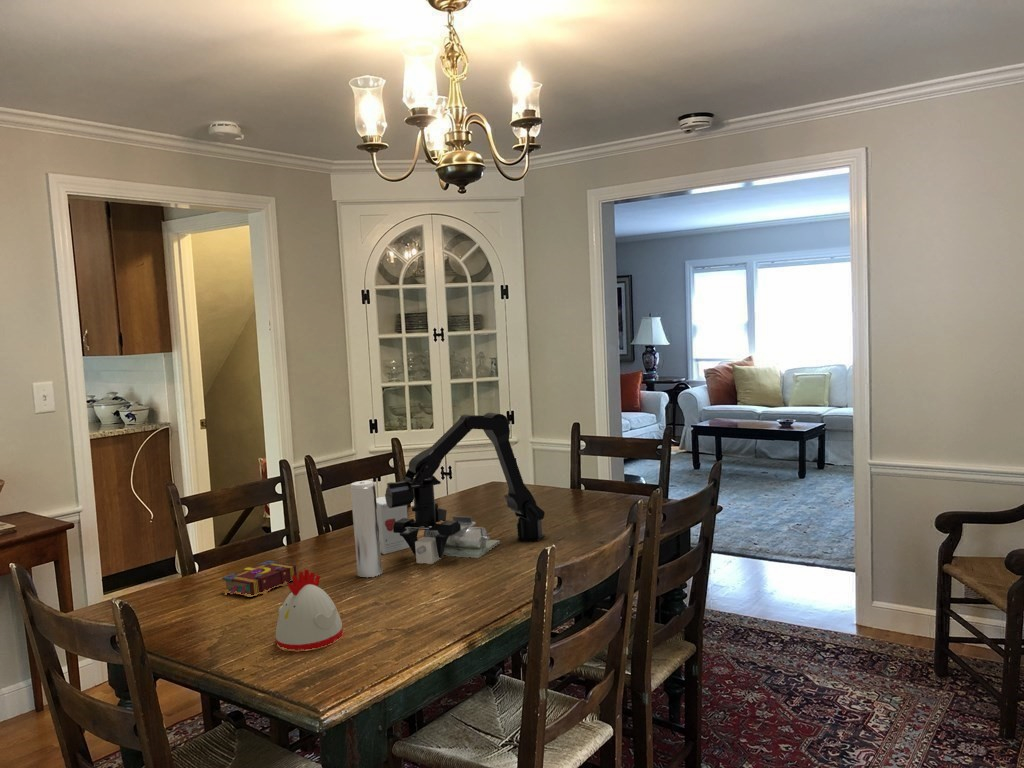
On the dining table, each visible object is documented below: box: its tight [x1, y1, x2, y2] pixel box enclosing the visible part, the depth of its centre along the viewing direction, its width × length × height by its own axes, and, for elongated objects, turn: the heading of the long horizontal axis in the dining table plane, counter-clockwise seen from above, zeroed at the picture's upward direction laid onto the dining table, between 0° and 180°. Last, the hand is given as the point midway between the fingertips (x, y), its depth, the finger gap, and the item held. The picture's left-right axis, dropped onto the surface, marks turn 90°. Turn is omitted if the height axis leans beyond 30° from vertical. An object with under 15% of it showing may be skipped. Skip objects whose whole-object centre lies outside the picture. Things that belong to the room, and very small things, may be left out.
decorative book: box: [221, 560, 298, 595], centre depth 204 cm, size 11×16×5 cm
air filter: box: [350, 480, 383, 579], centre depth 208 cm, size 6×6×25 cm
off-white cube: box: [415, 536, 442, 565], centre depth 216 cm, size 5×7×6 cm
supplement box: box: [376, 496, 411, 555], centre depth 231 cm, size 9×9×15 cm
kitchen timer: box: [275, 568, 344, 650], centre depth 167 cm, size 14×14×15 cm
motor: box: [423, 515, 501, 559], centre depth 226 cm, size 20×14×8 cm
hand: (428, 557), depth 217 cm, fingers open, 7 cm apart
